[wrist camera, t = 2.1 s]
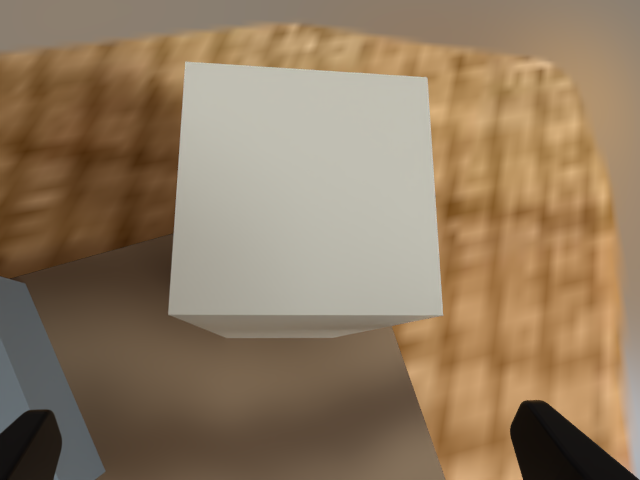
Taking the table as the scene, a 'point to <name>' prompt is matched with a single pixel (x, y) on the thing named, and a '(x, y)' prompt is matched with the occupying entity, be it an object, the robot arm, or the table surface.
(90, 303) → the walnut board
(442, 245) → the table surface
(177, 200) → the tower
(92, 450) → the socket cup
